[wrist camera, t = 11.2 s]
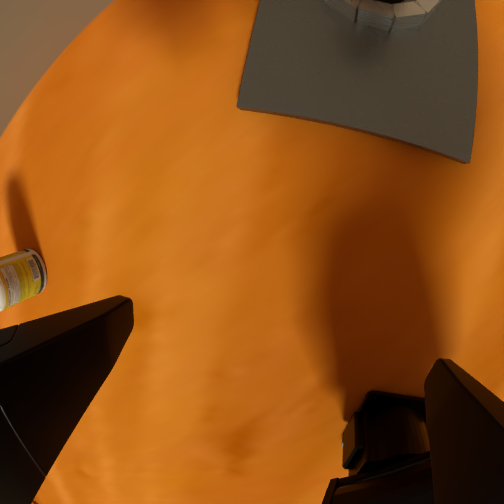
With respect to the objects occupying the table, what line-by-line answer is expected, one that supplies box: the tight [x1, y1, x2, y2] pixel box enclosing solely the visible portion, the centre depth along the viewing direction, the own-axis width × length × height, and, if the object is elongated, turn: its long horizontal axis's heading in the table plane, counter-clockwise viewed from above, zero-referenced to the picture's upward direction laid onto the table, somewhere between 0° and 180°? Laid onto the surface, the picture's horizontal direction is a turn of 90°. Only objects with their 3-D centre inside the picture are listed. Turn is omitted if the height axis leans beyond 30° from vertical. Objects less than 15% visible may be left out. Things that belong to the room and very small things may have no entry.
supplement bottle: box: [0, 249, 47, 311], centre depth 23 cm, size 5×5×8 cm
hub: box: [237, 0, 478, 164], centre depth 14 cm, size 15×17×3 cm
